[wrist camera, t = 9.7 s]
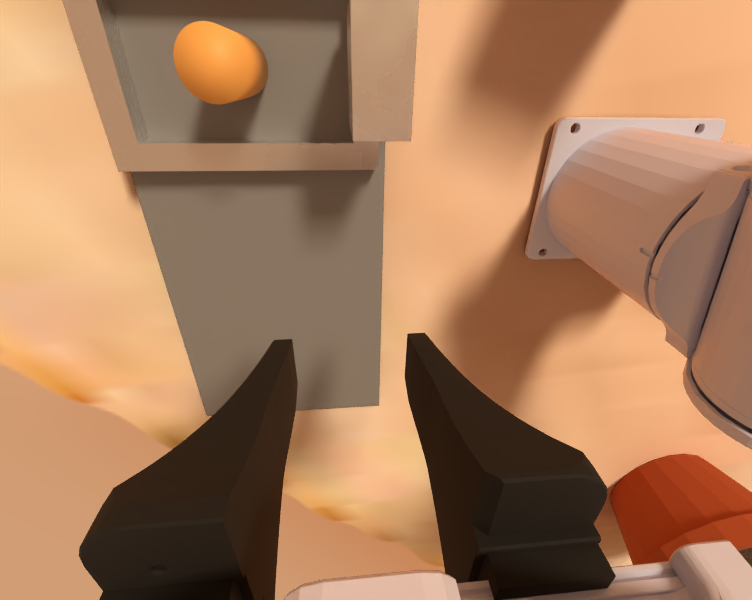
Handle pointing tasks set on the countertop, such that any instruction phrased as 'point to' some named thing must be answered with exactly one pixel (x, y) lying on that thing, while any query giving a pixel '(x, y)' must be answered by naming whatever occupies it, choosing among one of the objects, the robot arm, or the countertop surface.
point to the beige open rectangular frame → (366, 120)
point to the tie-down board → (263, 205)
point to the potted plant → (680, 508)
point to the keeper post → (219, 63)
